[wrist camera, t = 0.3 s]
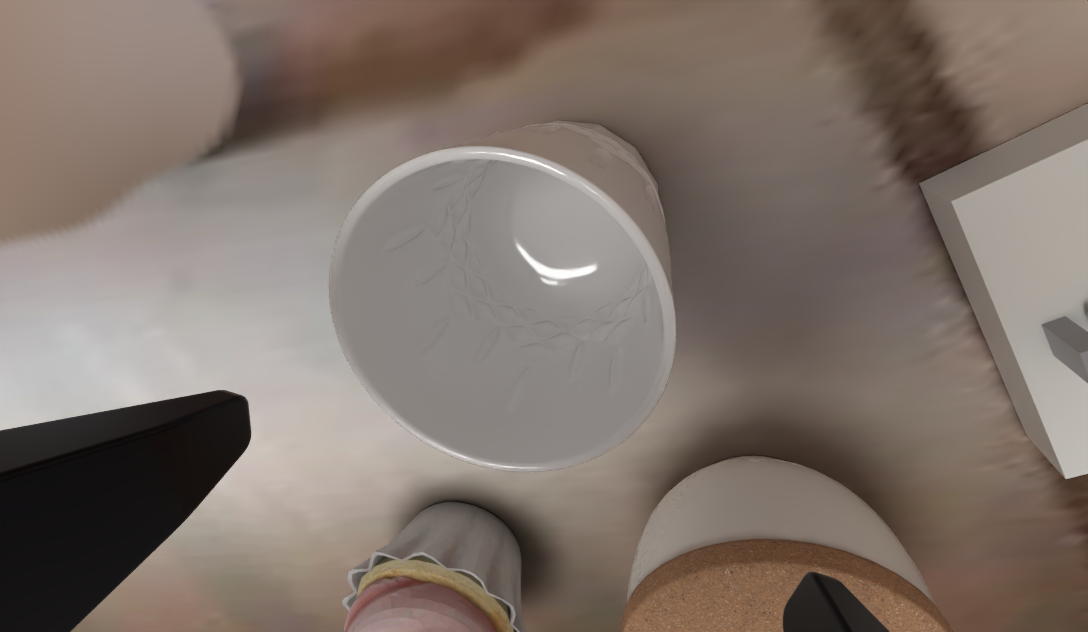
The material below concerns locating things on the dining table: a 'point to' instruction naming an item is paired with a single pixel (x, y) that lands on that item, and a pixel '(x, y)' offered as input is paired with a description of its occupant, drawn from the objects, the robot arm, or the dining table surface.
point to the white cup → (511, 296)
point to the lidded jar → (766, 552)
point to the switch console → (1028, 273)
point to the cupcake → (440, 577)
